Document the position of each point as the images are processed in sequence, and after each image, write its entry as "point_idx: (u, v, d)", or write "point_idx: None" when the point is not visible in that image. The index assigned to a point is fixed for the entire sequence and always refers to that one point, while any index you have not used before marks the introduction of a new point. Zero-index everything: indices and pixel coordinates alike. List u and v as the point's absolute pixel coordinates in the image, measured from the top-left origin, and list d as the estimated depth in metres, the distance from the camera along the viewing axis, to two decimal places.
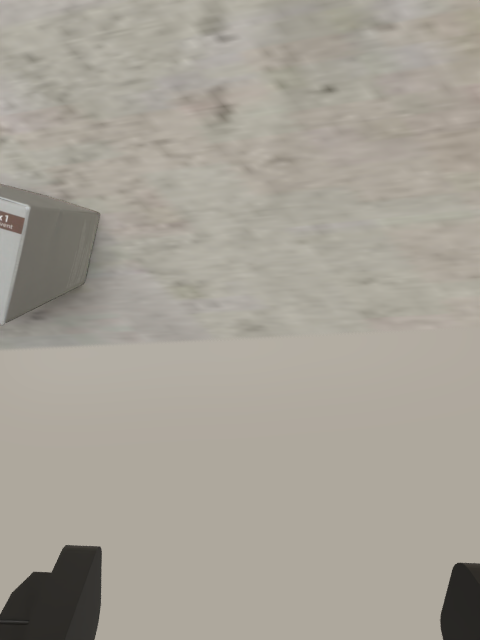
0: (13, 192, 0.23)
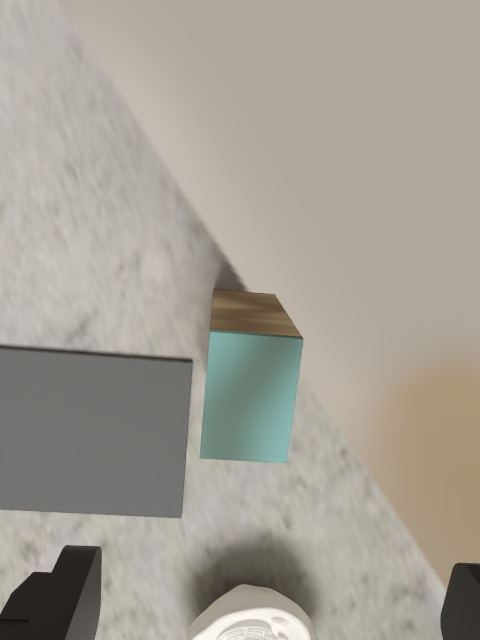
0: None
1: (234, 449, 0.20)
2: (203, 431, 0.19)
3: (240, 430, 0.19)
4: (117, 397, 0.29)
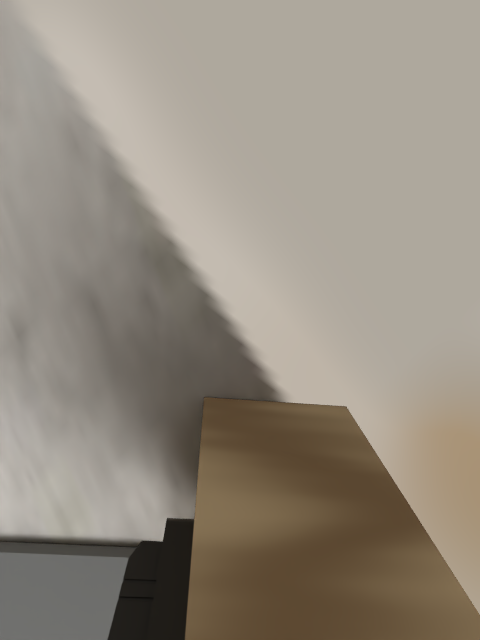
0: None
1: None
2: None
3: None
4: None
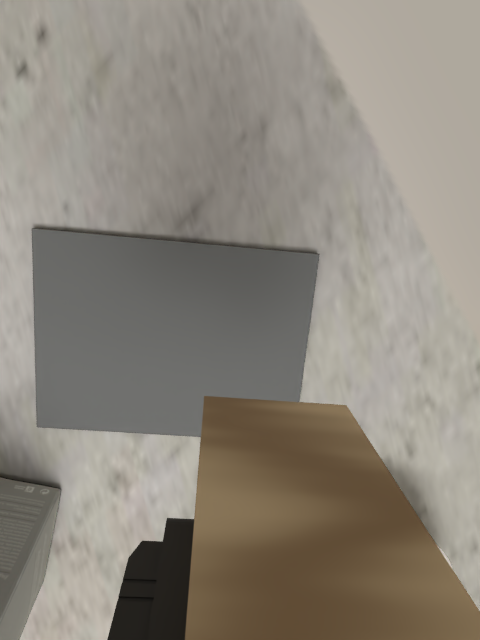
0: None
1: None
2: None
3: None
4: (231, 295, 0.25)
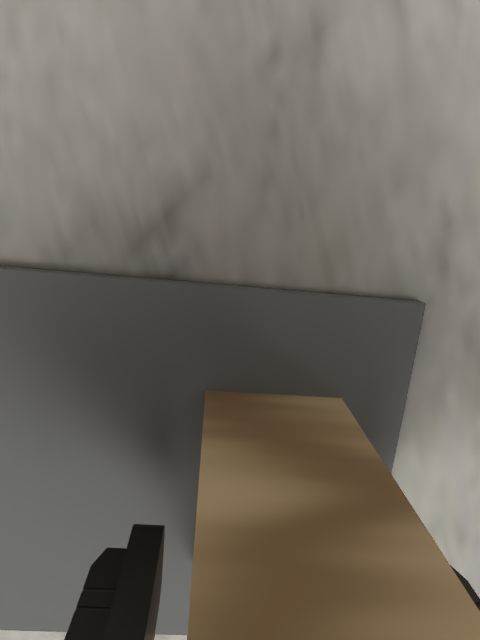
0: None
1: None
2: None
3: None
4: (245, 385, 0.12)
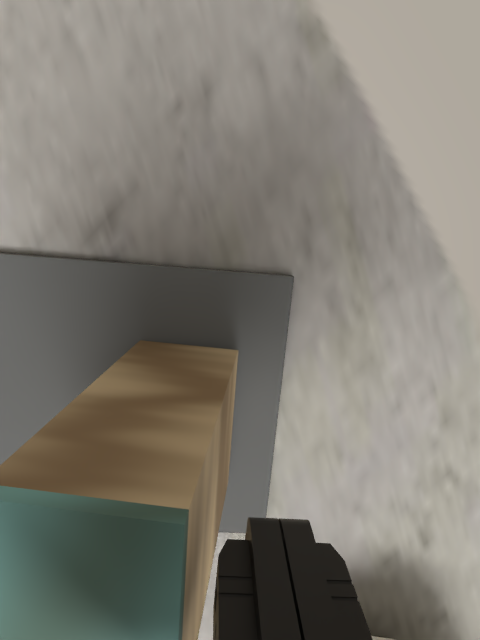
0: None
1: None
2: None
3: None
4: (168, 336, 0.17)
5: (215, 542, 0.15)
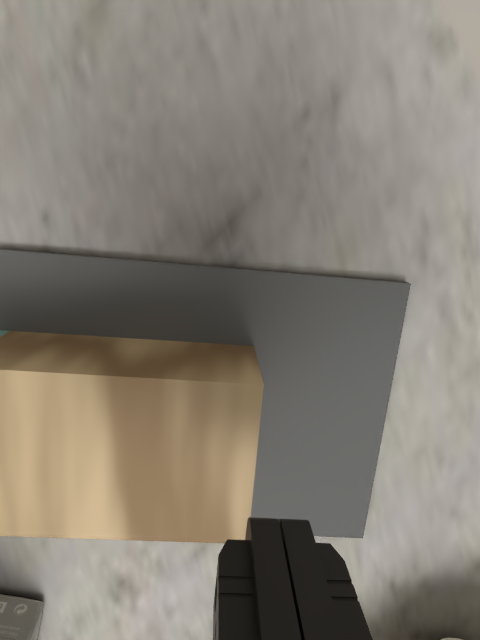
0: None
1: None
2: None
3: None
4: (283, 342, 0.18)
5: (136, 532, 0.15)
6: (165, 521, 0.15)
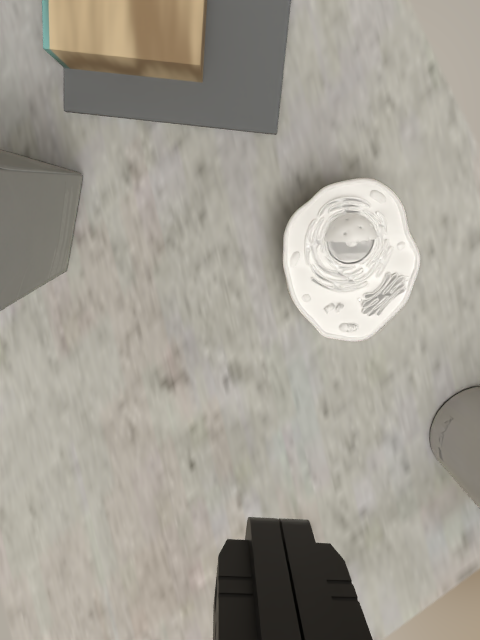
0: (11, 275, 0.24)
1: None
2: None
3: None
4: None
5: (140, 53, 0.28)
6: (155, 46, 0.28)
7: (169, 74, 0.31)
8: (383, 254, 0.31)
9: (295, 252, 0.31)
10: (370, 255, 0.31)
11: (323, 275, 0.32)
